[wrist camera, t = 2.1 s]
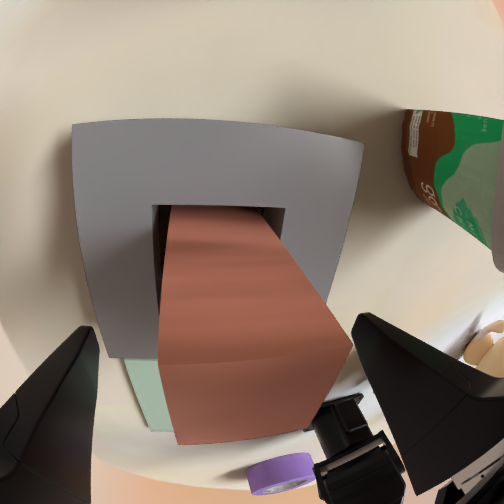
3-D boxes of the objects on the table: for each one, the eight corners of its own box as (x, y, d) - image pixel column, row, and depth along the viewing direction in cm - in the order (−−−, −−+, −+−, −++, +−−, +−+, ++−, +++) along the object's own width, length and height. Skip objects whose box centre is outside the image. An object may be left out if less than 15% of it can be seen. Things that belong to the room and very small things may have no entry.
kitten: (456, 370, 38) (493, 420, 25) (434, 377, 35) (477, 436, 22) (500, 309, 33) (546, 357, 20) (487, 306, 29) (543, 364, 16)
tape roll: (283, 472, 41) (290, 491, 37) (233, 475, 36) (239, 498, 32) (322, 449, 37) (332, 471, 33) (270, 453, 33) (279, 480, 28)
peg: (243, 268, 16) (307, 428, 7) (173, 269, 15) (177, 445, 6) (251, 201, 14) (353, 344, 5) (172, 199, 13) (157, 364, 4)
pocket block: (294, 317, 19) (310, 347, 16) (116, 323, 16) (109, 357, 13) (332, 136, 13) (364, 143, 11) (96, 122, 10) (72, 124, 8)
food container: (357, 187, 15) (497, 275, 6) (390, 97, 13) (544, 124, 4) (452, 235, 19) (534, 296, 11) (476, 173, 17) (565, 220, 8)
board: (264, 419, 25) (265, 423, 25) (150, 426, 22) (151, 431, 22) (286, 346, 20) (289, 352, 19) (124, 354, 17) (123, 360, 16)
